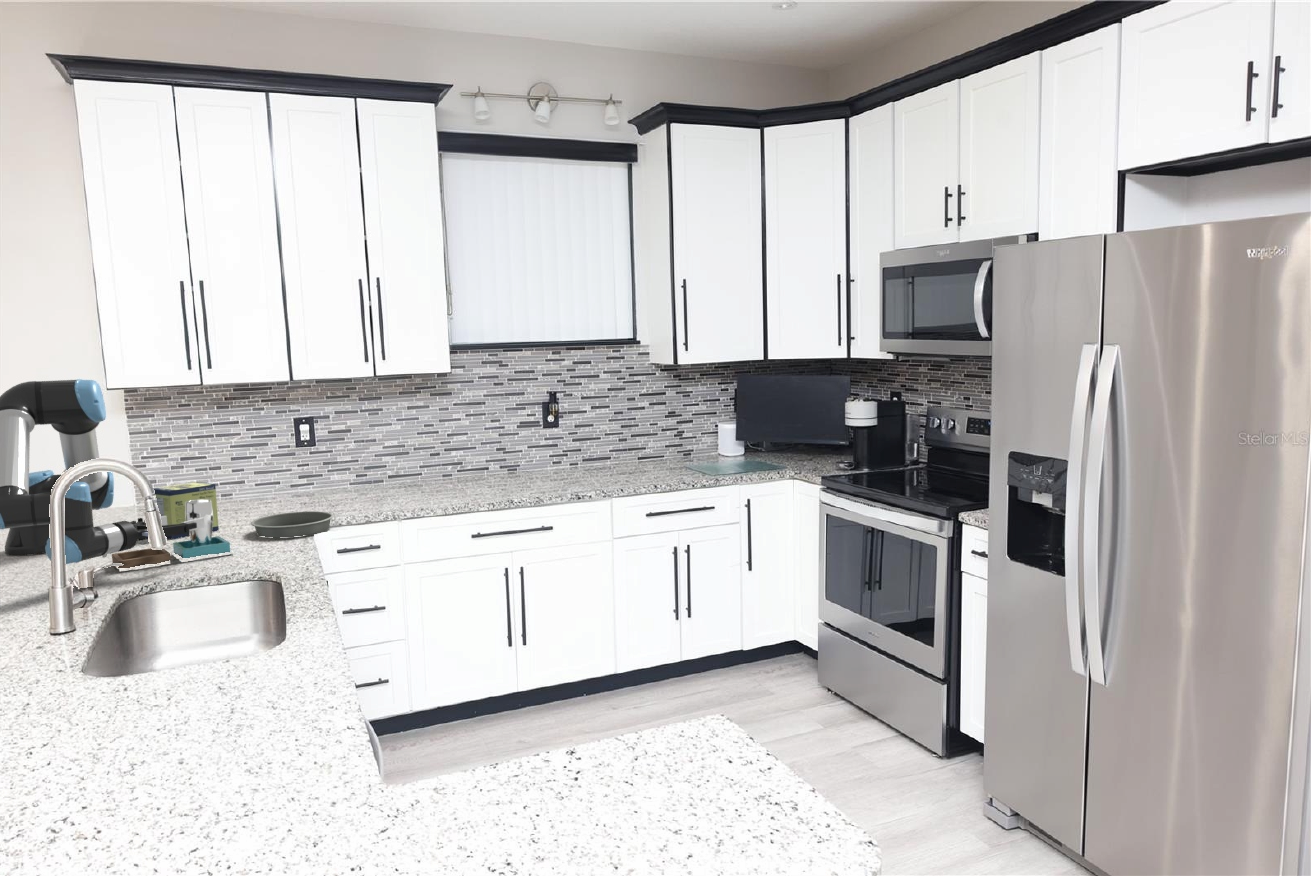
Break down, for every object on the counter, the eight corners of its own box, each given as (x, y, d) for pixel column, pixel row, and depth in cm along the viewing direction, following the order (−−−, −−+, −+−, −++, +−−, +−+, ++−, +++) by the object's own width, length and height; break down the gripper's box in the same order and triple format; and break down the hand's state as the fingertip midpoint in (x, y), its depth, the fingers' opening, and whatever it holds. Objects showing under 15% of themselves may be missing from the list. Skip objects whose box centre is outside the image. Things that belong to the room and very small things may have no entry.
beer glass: (203, 549, 247) (199, 498, 246) (221, 550, 245) (217, 499, 243) (182, 554, 241) (178, 502, 239) (200, 556, 238) (196, 503, 237)
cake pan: (234, 540, 263) (233, 526, 262) (279, 524, 287) (278, 511, 287) (309, 540, 260) (308, 526, 259) (348, 524, 284) (347, 510, 283)
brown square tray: (120, 572, 225) (119, 561, 224) (112, 564, 234) (111, 553, 233) (171, 564, 232) (170, 553, 232) (162, 556, 241) (161, 546, 241)
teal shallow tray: (181, 562, 234) (180, 550, 233) (171, 555, 243) (170, 542, 243) (232, 554, 242) (232, 542, 242) (221, 547, 252) (220, 535, 251)
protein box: (220, 530, 278) (216, 483, 276) (172, 539, 265) (168, 490, 263) (201, 527, 283) (197, 481, 282) (153, 536, 270) (149, 488, 268)
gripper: (80, 549, 221) (152, 532, 241) (151, 554, 213) (220, 536, 233) (77, 521, 220) (149, 506, 240) (149, 525, 212) (218, 509, 232)
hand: (184, 521), depth 237 cm, fingers open, 13 cm apart
